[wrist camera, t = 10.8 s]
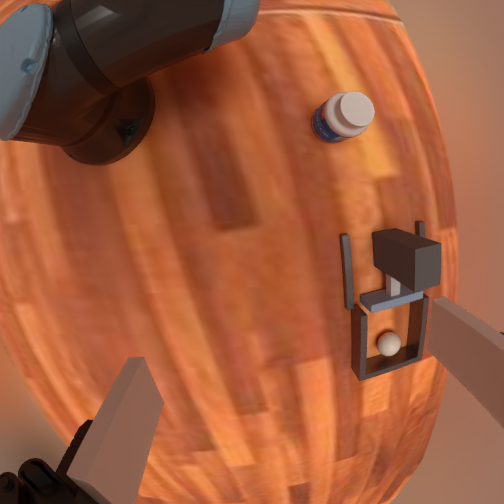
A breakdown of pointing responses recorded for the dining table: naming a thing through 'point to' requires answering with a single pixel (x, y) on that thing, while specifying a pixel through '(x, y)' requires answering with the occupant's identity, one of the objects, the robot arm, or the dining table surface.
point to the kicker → (403, 268)
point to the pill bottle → (343, 117)
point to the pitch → (359, 325)
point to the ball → (389, 344)
